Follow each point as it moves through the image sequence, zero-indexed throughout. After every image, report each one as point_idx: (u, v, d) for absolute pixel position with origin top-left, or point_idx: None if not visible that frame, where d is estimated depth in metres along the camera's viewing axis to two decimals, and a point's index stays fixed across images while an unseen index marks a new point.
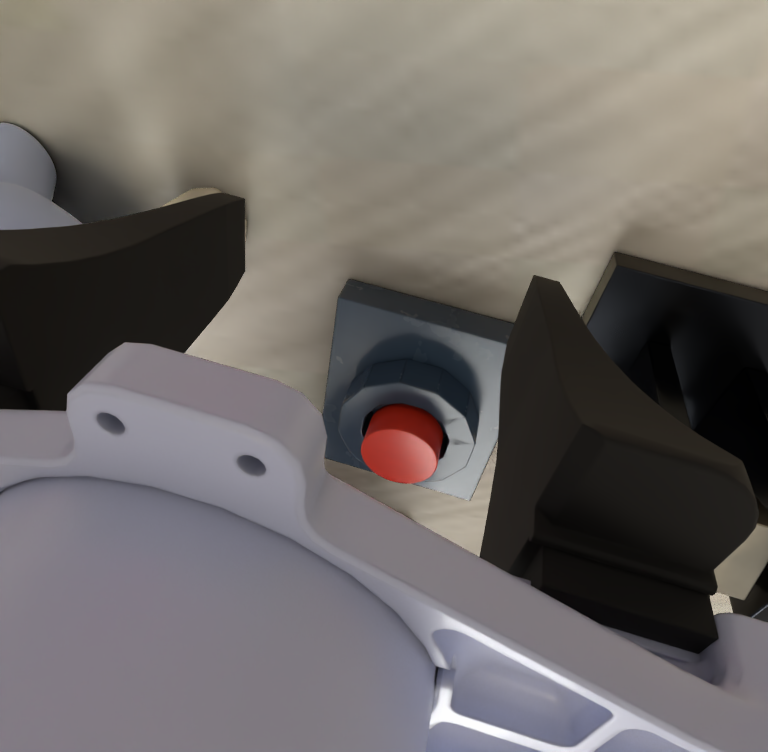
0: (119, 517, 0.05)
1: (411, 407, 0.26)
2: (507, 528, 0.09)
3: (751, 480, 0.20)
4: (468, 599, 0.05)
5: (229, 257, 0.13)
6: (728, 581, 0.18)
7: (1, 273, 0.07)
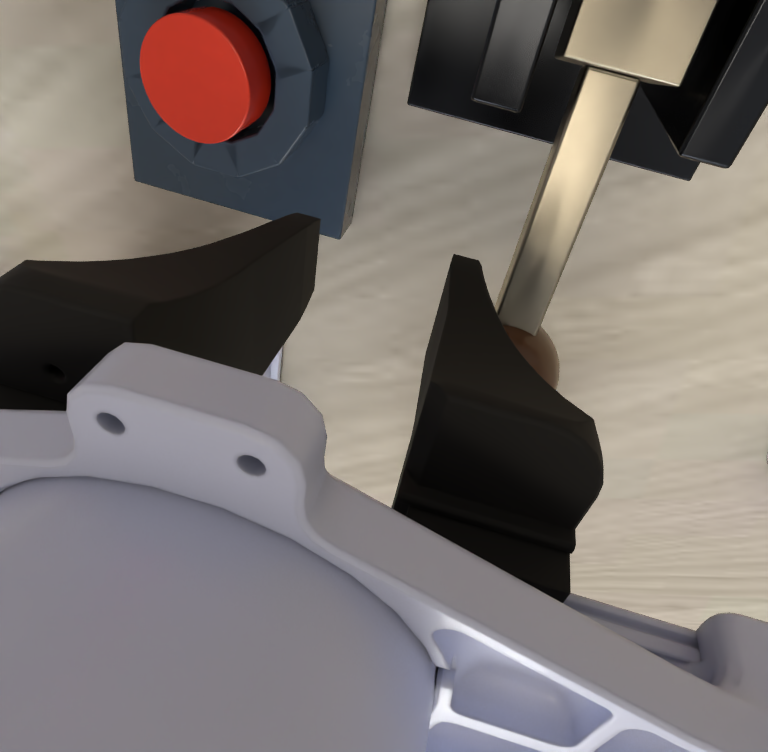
0: (119, 517, 0.05)
1: (215, 8, 0.17)
2: (396, 495, 0.09)
3: None
4: (469, 599, 0.05)
5: (304, 277, 0.13)
6: (652, 42, 0.10)
7: (141, 314, 0.07)
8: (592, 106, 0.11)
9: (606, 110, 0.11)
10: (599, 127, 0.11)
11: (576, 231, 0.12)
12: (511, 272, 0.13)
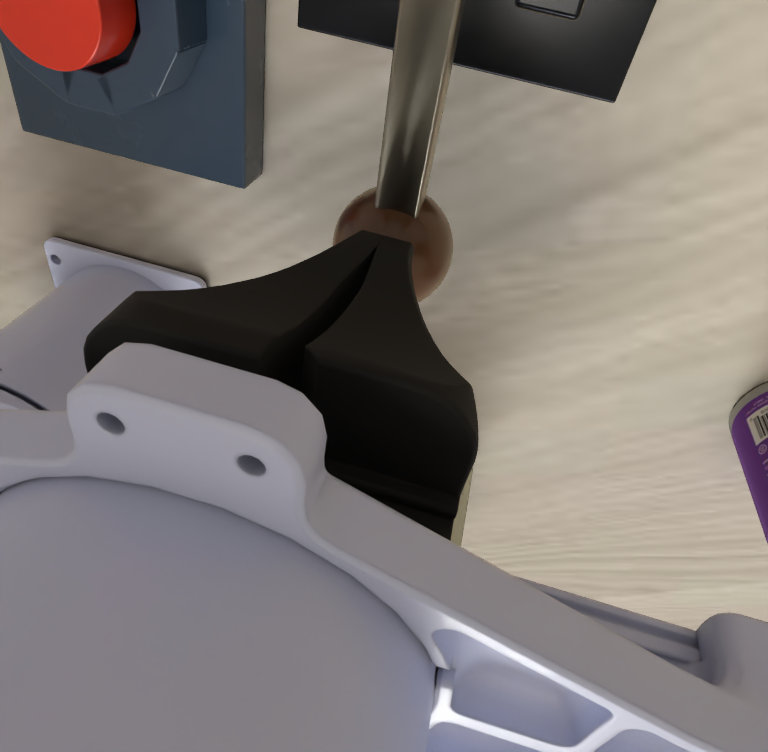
0: (119, 517, 0.05)
1: None
2: None
3: None
4: (468, 599, 0.05)
5: None
6: None
7: (266, 348, 0.07)
8: None
9: None
10: None
11: (435, 111, 0.12)
12: None
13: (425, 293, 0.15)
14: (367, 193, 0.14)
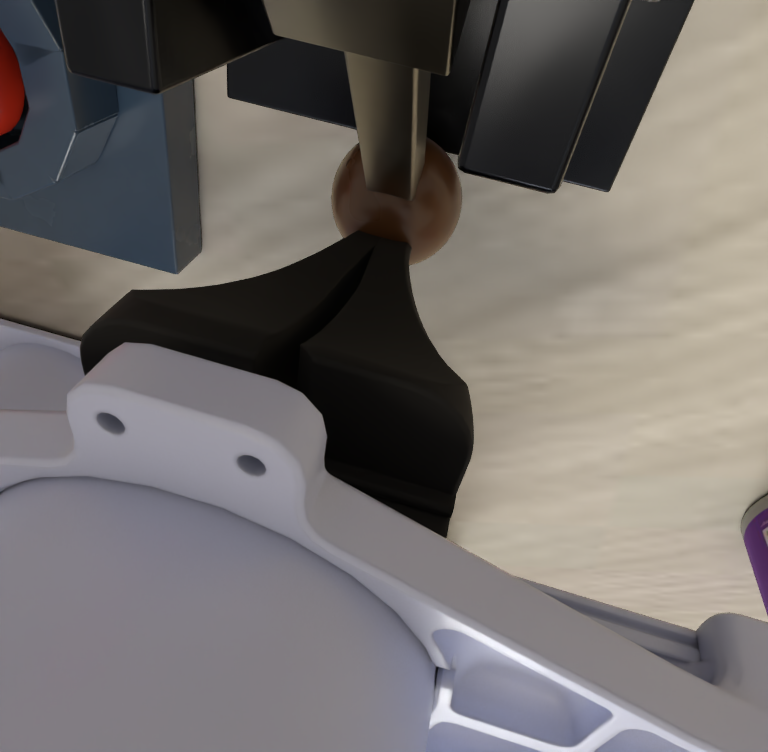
0: (119, 517, 0.05)
1: None
2: None
3: None
4: (468, 599, 0.05)
5: None
6: (383, 31, 0.06)
7: (262, 347, 0.07)
8: None
9: None
10: None
11: (412, 139, 0.10)
12: (362, 158, 0.11)
13: (431, 255, 0.14)
14: (359, 160, 0.13)
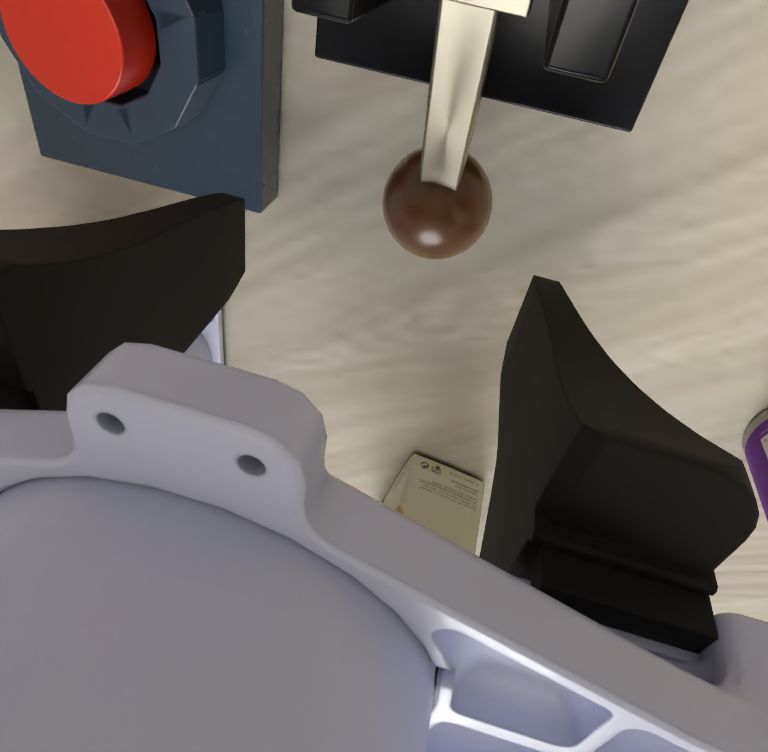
0: (119, 517, 0.05)
1: None
2: (507, 528, 0.09)
3: None
4: (468, 600, 0.05)
5: (229, 257, 0.13)
6: None
7: (1, 273, 0.07)
8: (458, 10, 0.10)
9: (473, 13, 0.10)
10: (470, 29, 0.11)
11: (471, 115, 0.12)
12: (423, 144, 0.14)
13: (466, 248, 0.16)
14: (412, 161, 0.15)
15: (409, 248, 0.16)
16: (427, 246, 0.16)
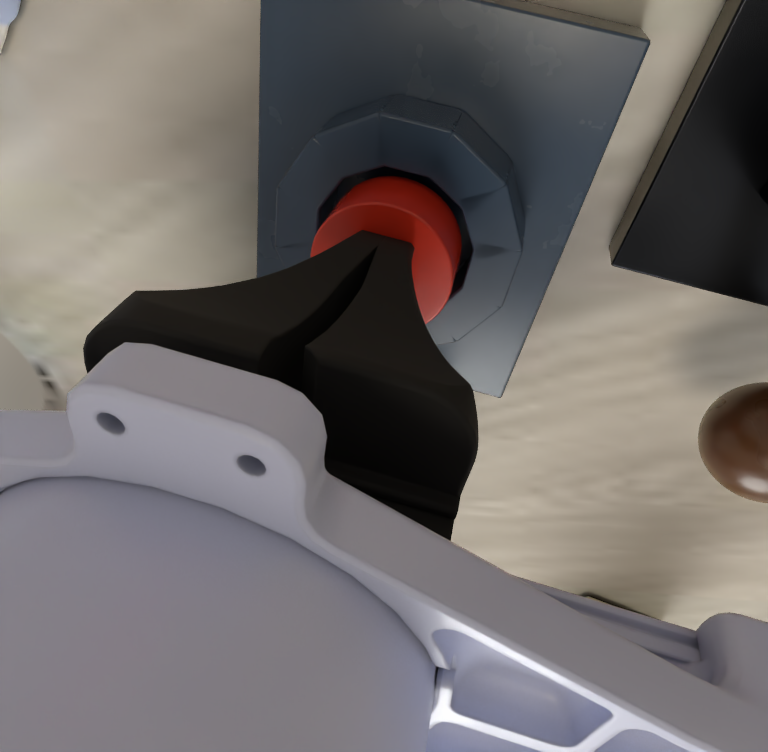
0: (119, 517, 0.05)
1: (403, 179, 0.14)
2: None
3: None
4: (468, 599, 0.05)
5: None
6: None
7: (265, 349, 0.07)
8: None
9: None
10: None
11: None
12: None
13: None
14: (766, 415, 0.14)
15: (740, 494, 0.15)
16: None
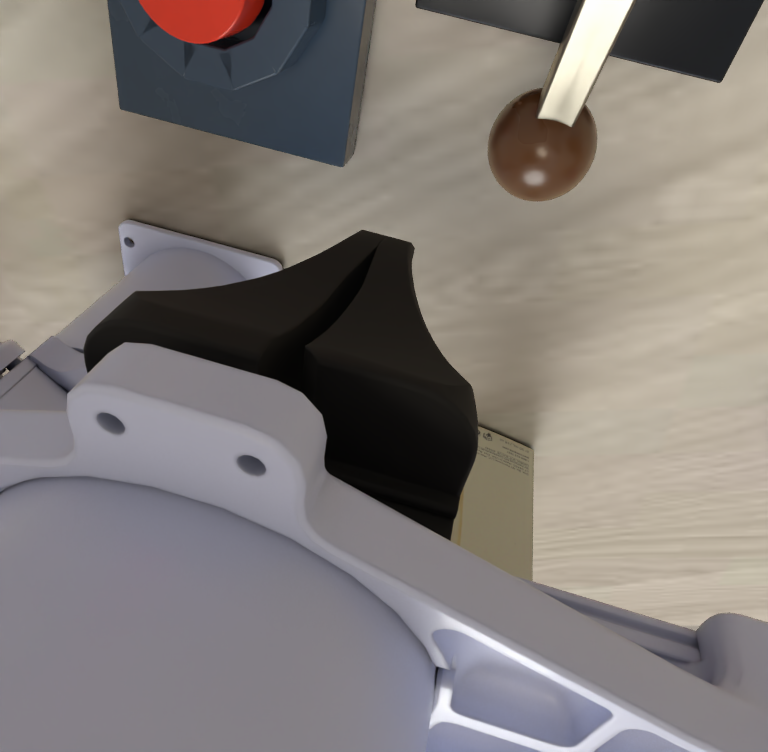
0: (119, 517, 0.05)
1: None
2: None
3: None
4: (469, 599, 0.05)
5: None
6: None
7: (266, 348, 0.07)
8: None
9: None
10: None
11: (612, 42, 0.13)
12: (551, 76, 0.14)
13: (569, 190, 0.17)
14: (526, 100, 0.16)
15: (516, 188, 0.17)
16: (537, 184, 0.16)
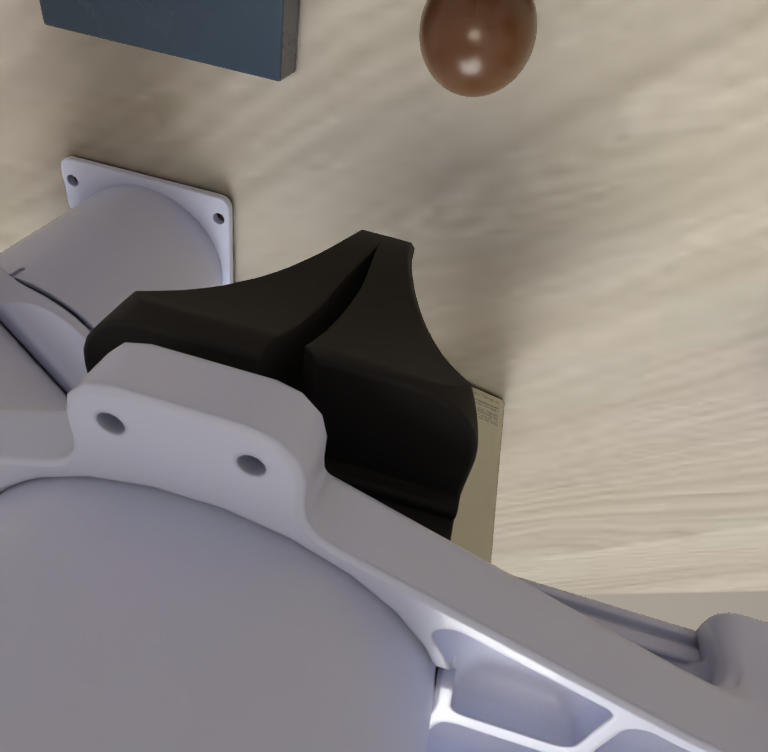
0: (119, 517, 0.05)
1: None
2: None
3: None
4: (469, 600, 0.05)
5: None
6: None
7: (265, 349, 0.07)
8: None
9: None
10: None
11: None
12: None
13: (509, 79, 0.15)
14: None
15: (449, 77, 0.15)
16: (470, 69, 0.15)
